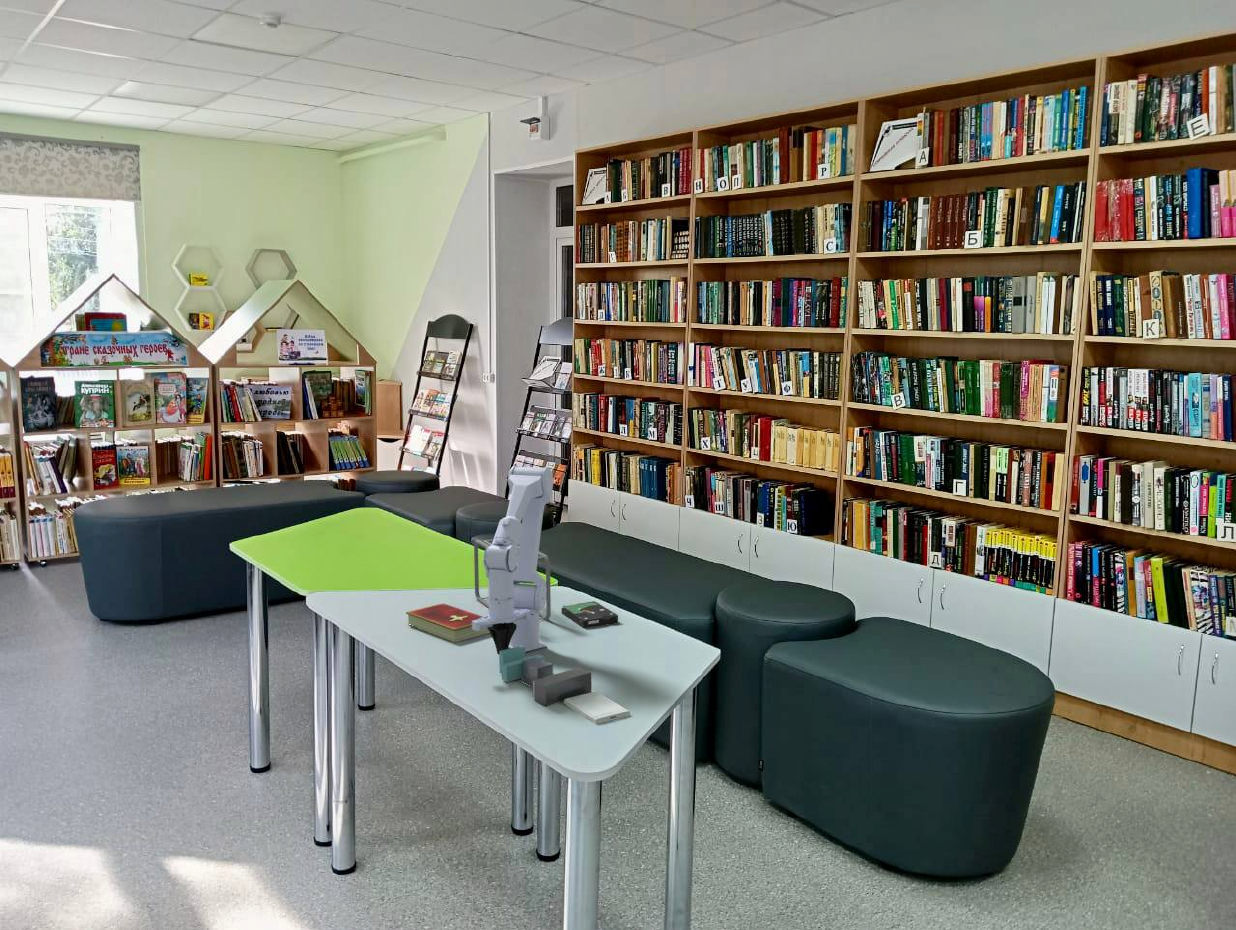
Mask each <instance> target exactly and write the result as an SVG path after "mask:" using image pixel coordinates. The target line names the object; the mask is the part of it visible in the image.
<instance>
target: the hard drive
mask: <svg viewBox="0 0 1236 930" xmlns="http://www.w3.org/2000/svg"><path fill="white" fill-rule="evenodd" d="M563 703H564V705H565V704H566V705H565V706H567V707H568V708H570V709H571V710H573V711H574V712H575V713H578V714H579V715H581V716H582V717H584V718H586V719H587V720H589V722H592V723H593V724H595V725H598V724H602V723H606V722H609V721H613V720H618V719H620V718H624V717H628V716H631V711H630V710H628V709H626V708H624V707H623V706H621V704H618V703H617V702H615V701H613V700H611V699H610V698H608V697H606V696H605V695H604V694H602V693H600V692H598V691H593V692H591V693H587V694H583V695H579V696H575V697H571V698H567V699H565V700H564V701H563Z"/></svg>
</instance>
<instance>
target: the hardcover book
mask: <svg viewBox="0 0 1236 930" xmlns="http://www.w3.org/2000/svg"><path fill="white" fill-rule="evenodd" d="M405 614H406V615H407V618H408V619H407V621H408V625H409V624H411V625H413V626H416V627H417V628H416V629H418V628H420V629H419V630H421V629H422V630H421V631H423V630H425V631H424V632H426V631H427V632H426V633H429V634H432V635H434V636H437V637H439V638H443V639H445V640H448V641H450V642H453V643H457V642H462V641H464V640H469V639H472V638H476V637H478V636H481V635H482V636H483V635H485V634H490V632H489V630H488V629H487V628H483V629H480V630H479V631H476V630H473V629H472V621H473V620H477V619H479V618H482V617H484V615H483V616H482V615H480V614H478V613H473V612H472V611H471V612H470V611H467V610H464V609H461V608H459V607H455V606H452V605H450V604H446V603H444V602H441V603H436V604H433V605H429V606H425V607H422V608H417V609H414V610H409V611H406V612H405ZM413 626H412V627H413Z"/></svg>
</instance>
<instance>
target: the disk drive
mask: <svg viewBox="0 0 1236 930" xmlns="http://www.w3.org/2000/svg"><path fill="white" fill-rule="evenodd" d="M561 615H563V616H564V617H566V618H567V619H569V620H570V619H571V621H572V622H573V623H575V624H576V625H578V626H579V627H581V628H583V629H588V628H594V627H601V626H607V624H609V625H614V623H616V624H619V615H618V614H617V613H615V612H614V611H612V610H610V609H609V608H607V607H606V606H603V605H602V604H600V603H598V602H597V601H587V602H579V603H576V604H570V605H562V607H561Z"/></svg>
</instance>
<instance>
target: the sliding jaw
mask: <svg viewBox="0 0 1236 930" xmlns="http://www.w3.org/2000/svg"><path fill="white" fill-rule="evenodd" d="M498 657H499V661H498V663H499V674H501V680H502V681H504V682H506V683H508V682H511V681H512V682H513V681H516V680H520V679H522V661H524V660H527V659H531V658H535V657H538V658H540V659H542V660H545V656H543V655H542V654H535V655H532V656H527V657H526V652H525V647H524V646H518V647H514V648H508V649H506V650H502V651H499V654H498Z"/></svg>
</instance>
